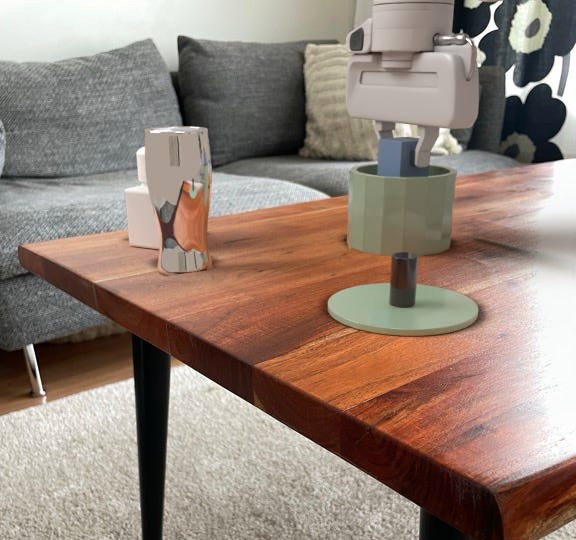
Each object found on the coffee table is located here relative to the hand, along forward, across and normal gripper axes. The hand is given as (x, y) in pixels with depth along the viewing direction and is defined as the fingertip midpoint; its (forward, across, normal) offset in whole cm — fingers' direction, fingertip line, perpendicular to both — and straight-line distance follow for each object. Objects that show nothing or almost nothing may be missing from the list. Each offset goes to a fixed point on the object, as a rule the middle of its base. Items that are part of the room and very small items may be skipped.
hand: (403, 163), depth 86 cm
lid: (+10, -21, +16) cm, 28 cm away
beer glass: (+10, +4, +27) cm, 29 cm away
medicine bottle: (+10, +17, +24) cm, 31 cm away
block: (+2, 0, 0) cm, 2 cm away
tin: (+10, 0, 0) cm, 10 cm away
